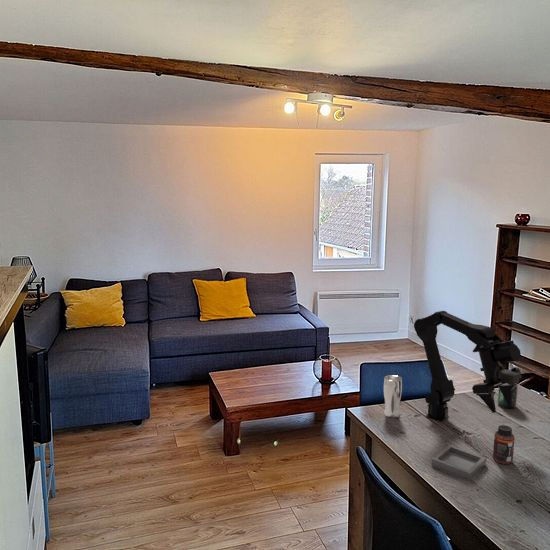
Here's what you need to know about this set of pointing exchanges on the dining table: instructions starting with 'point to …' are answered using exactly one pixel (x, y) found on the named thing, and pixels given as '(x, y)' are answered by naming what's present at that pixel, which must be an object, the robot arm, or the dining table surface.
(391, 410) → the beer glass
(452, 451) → the tray
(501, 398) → the supplement bottle
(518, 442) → the dining table surface
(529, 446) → the dining table surface
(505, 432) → the supplement bottle
